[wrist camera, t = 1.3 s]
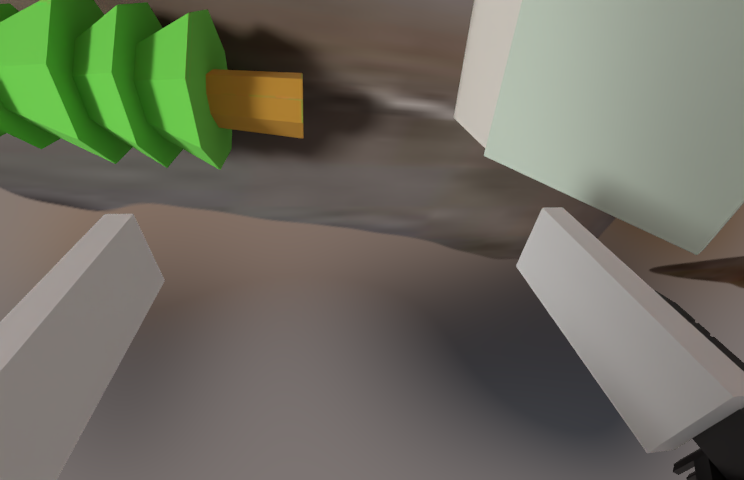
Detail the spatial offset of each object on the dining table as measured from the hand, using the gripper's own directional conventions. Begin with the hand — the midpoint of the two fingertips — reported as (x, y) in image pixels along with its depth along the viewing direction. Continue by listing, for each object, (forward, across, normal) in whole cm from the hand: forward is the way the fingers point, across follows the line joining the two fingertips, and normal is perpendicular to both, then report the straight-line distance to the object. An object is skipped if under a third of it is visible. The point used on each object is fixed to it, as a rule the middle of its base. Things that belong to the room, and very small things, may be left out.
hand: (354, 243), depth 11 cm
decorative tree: (+24, -17, +1) cm, 30 cm away
